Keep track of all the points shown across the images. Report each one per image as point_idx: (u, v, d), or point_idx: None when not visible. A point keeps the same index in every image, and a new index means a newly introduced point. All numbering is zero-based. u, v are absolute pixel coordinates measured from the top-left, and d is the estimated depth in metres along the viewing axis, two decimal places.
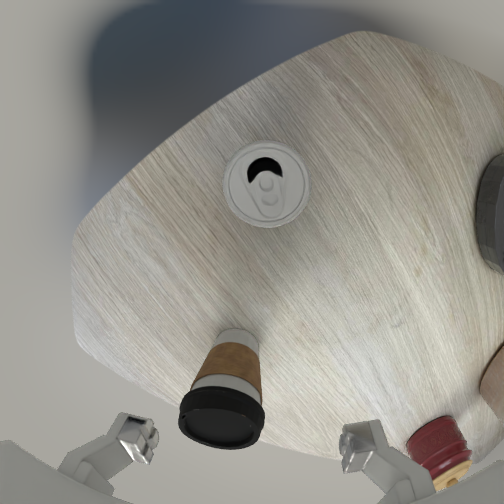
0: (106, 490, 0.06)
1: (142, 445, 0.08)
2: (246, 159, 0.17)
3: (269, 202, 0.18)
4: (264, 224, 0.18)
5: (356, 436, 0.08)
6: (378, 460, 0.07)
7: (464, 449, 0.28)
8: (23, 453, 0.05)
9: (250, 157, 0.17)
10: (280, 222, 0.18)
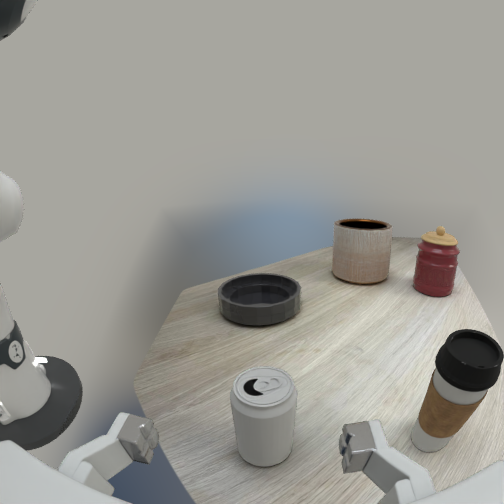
0: (106, 490, 0.06)
1: (142, 445, 0.08)
2: (245, 396, 0.21)
3: (276, 383, 0.23)
4: (293, 383, 0.23)
5: (356, 436, 0.08)
6: (378, 460, 0.07)
7: (419, 249, 0.62)
8: (23, 453, 0.05)
9: (243, 395, 0.22)
10: (289, 376, 0.24)
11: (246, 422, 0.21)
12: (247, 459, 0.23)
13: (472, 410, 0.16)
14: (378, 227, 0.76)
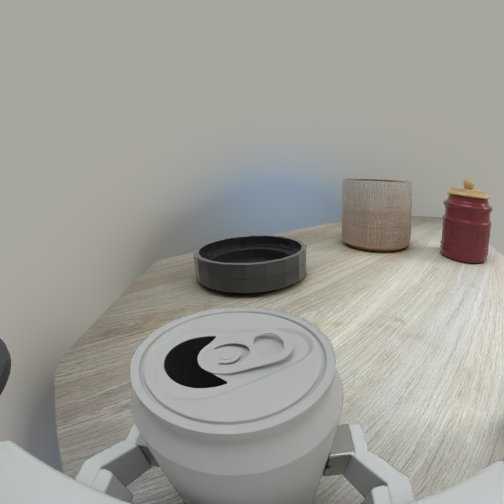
0: (126, 497, 0.06)
1: None
2: (160, 387, 0.06)
3: (275, 349, 0.07)
4: (329, 347, 0.07)
5: (335, 439, 0.08)
6: (356, 464, 0.07)
7: (447, 206, 0.47)
8: (23, 453, 0.05)
9: (157, 381, 0.06)
10: (315, 329, 0.08)
11: (172, 474, 0.05)
12: None
13: None
14: None
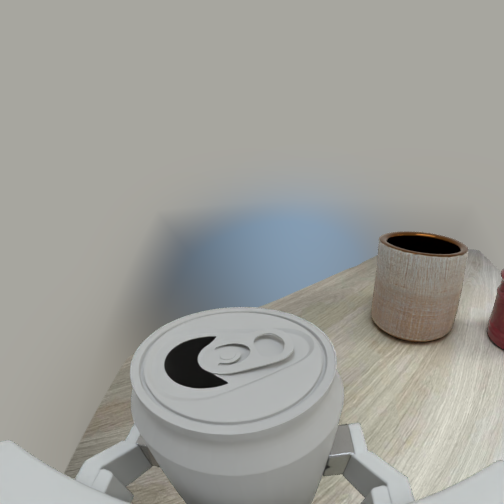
0: (126, 497, 0.06)
1: None
2: (160, 387, 0.06)
3: (276, 349, 0.07)
4: (330, 347, 0.07)
5: (335, 439, 0.08)
6: (356, 464, 0.07)
7: None
8: (23, 453, 0.05)
9: (157, 381, 0.06)
10: (316, 329, 0.08)
11: (173, 474, 0.05)
12: None
13: None
14: (439, 245, 0.44)
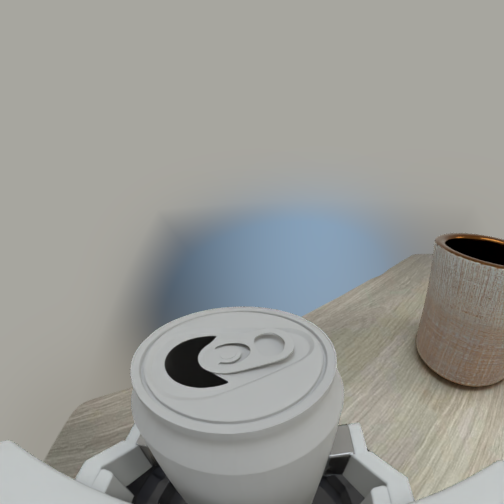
0: (126, 497, 0.06)
1: None
2: (160, 386, 0.06)
3: (276, 349, 0.07)
4: (330, 347, 0.07)
5: (334, 439, 0.08)
6: (356, 464, 0.07)
7: None
8: (23, 453, 0.05)
9: (157, 381, 0.06)
10: (316, 328, 0.08)
11: (173, 473, 0.05)
12: None
13: None
14: (501, 253, 0.27)
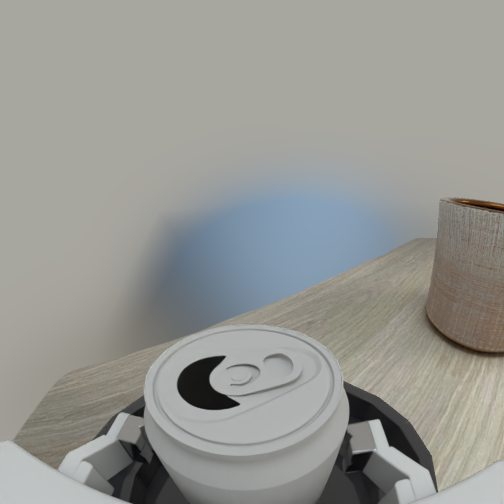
0: (106, 490, 0.06)
1: (142, 445, 0.08)
2: (175, 409, 0.06)
3: (284, 369, 0.07)
4: (337, 367, 0.07)
5: (356, 436, 0.08)
6: (378, 460, 0.07)
7: None
8: (23, 453, 0.05)
9: (171, 403, 0.06)
10: (323, 347, 0.08)
11: (187, 488, 0.05)
12: None
13: None
14: None
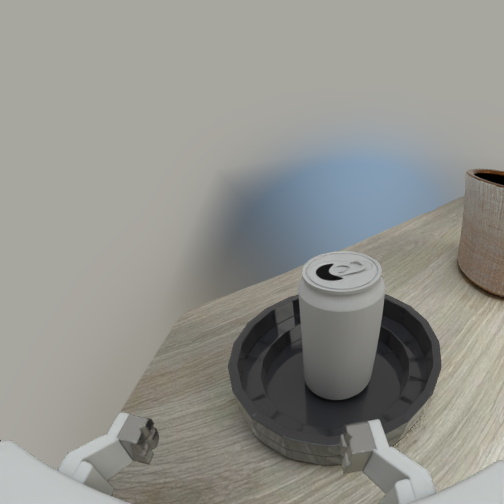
0: (106, 490, 0.06)
1: (142, 445, 0.08)
2: (318, 282, 0.17)
3: (358, 267, 0.18)
4: (379, 266, 0.17)
5: (356, 436, 0.08)
6: (378, 460, 0.07)
7: None
8: (23, 453, 0.05)
9: (316, 280, 0.17)
10: (374, 260, 0.18)
11: (320, 322, 0.17)
12: (316, 390, 0.20)
13: None
14: None
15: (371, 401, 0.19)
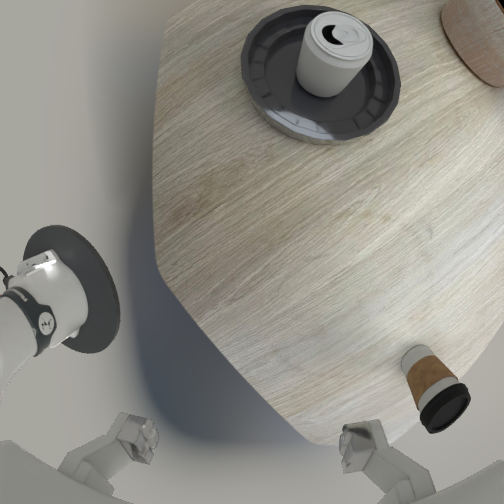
0: (106, 490, 0.06)
1: (142, 445, 0.08)
2: (324, 43, 0.17)
3: (355, 35, 0.16)
4: (371, 40, 0.16)
5: (356, 436, 0.08)
6: (378, 460, 0.07)
7: None
8: (23, 453, 0.05)
9: (322, 41, 0.17)
10: (368, 31, 0.16)
11: (321, 65, 0.19)
12: (306, 88, 0.27)
13: None
14: None
15: (344, 101, 0.28)
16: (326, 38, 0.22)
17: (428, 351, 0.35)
